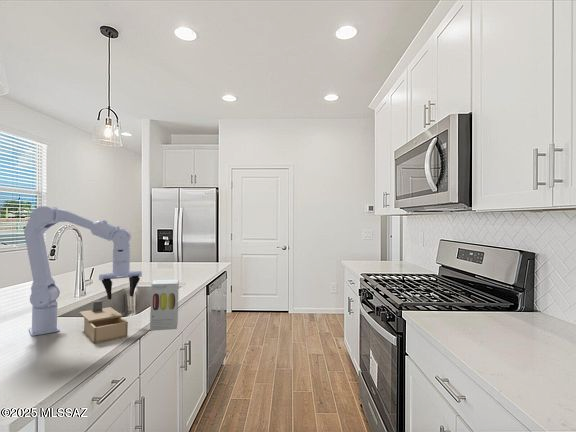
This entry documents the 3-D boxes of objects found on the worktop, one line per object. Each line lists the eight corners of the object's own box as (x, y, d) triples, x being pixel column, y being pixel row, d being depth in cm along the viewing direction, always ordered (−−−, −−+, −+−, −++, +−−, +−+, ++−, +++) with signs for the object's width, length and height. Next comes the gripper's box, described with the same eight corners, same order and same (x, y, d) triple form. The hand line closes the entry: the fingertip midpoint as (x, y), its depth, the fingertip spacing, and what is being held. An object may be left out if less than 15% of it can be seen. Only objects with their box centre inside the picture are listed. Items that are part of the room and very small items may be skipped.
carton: (84, 332, 117) (84, 318, 117) (115, 327, 124) (115, 313, 124) (94, 343, 107) (94, 328, 107) (127, 336, 113) (127, 321, 113)
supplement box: (149, 331, 119) (150, 283, 120) (152, 323, 128) (152, 279, 128) (177, 329, 122) (178, 282, 122) (178, 321, 131) (179, 278, 131)
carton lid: (79, 313, 122) (79, 302, 122) (110, 308, 129) (110, 298, 129) (88, 322, 112) (88, 310, 112) (122, 316, 119) (122, 305, 119)
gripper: (102, 263, 118) (102, 302, 118) (144, 260, 128) (144, 296, 128) (97, 262, 124) (96, 298, 123) (138, 259, 133) (137, 293, 133)
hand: (120, 297), depth 126 cm, fingers open, 7 cm apart
